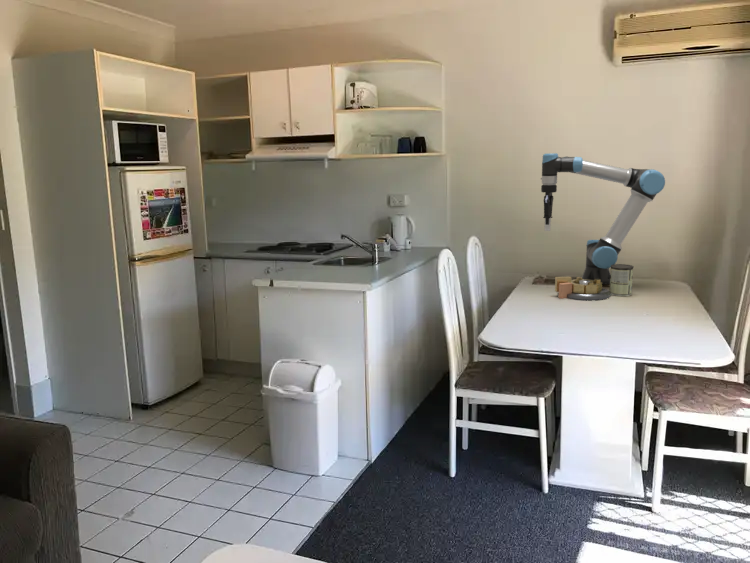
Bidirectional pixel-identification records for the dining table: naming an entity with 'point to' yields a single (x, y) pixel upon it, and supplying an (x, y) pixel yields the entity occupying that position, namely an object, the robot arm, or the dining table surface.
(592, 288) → the gold octagonal ring
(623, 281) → the coffee can
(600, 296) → the plate
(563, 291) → the block
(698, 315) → the dining table surface
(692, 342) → the dining table surface
